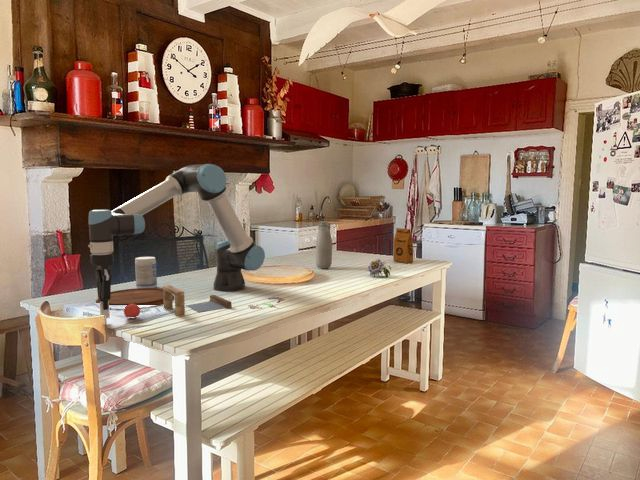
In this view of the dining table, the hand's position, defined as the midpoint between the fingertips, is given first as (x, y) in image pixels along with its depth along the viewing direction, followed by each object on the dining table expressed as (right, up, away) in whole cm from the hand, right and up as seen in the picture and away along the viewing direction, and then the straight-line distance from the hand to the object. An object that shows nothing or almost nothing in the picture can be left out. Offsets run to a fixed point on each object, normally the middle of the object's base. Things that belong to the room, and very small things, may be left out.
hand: (105, 317), depth 176 cm
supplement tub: (-6, +5, +59) cm, 60 cm away
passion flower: (+110, +8, +91) cm, 143 cm away
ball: (+8, +1, +6) cm, 10 cm away
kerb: (+36, +1, +28) cm, 46 cm away
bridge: (+20, 0, +16) cm, 26 cm away
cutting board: (-2, +1, +35) cm, 35 cm away
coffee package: (+132, +14, +139) cm, 192 cm away
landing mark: (+31, +1, +24) cm, 40 cm away
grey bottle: (+80, +11, +114) cm, 140 cm away
